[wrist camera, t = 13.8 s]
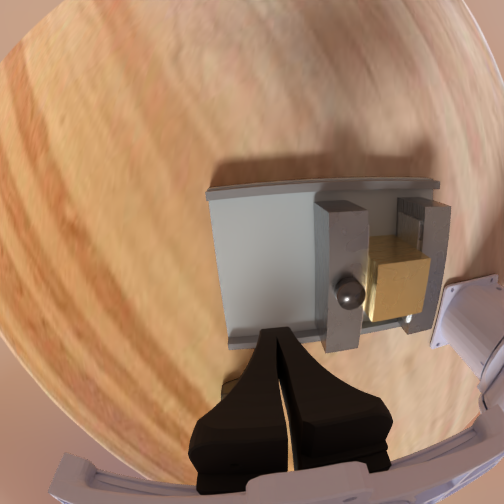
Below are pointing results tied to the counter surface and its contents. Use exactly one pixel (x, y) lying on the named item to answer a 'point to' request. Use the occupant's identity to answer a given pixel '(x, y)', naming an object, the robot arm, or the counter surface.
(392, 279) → the block
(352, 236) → the bar
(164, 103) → the counter surface
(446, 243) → the fixed jaw
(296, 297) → the board
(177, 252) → the counter surface
